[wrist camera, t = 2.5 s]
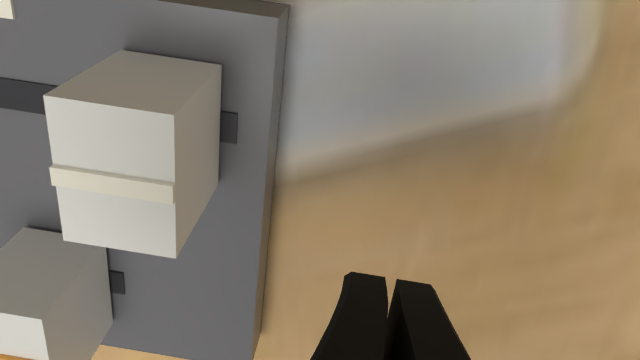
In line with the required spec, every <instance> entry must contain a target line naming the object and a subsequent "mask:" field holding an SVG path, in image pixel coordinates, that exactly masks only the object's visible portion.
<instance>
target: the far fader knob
mask: <svg viewBox="0 0 640 360" xmlns="http://www.w3.org/2000/svg"><path fill="white" fill-rule="evenodd" d="M112 325H113V317H112V307H111V296H110V285H109V275H108V264H107V253H106V247H101V246H94V245H88V244H82V243H76V242H70V241H64V240H63V234H62V233H56V232H50V231H44V230H38V229H31V228H25V227H23V228H22V229H21V230H20V231H19V232H18V233H17V234H15V235H14V236H13V237H12V238H11V239H10V240H9V241H8V242H7V243H6V244H5V245H4V246H2V247H1V248H0V360H91V358H92V356H93V355H94V353H95V352H96V350H97V348H98V347H99V345H100V344H101V342H102V341H103V339H104V337H105V336H106V334H107V333H108V331H109V329H110V328H111V326H112Z"/></svg>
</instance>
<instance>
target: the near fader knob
mask: <svg viewBox="0 0 640 360" xmlns="http://www.w3.org/2000/svg"><path fill="white" fill-rule="evenodd" d="M221 74H222V65H219V64H212V63H206V62H199V61H192V60H186V59H179V58H172V57H165V56H159V55H152V54H145V53H139V52H132V51H125V50H119V51H117V52H116V53H114V54H112V55H111V56H109V57H107V58H106V59H104V60H102V61H101V62H99V63H97V64H95V65H94V66H92V67H90V68H89V69H87V70H85V71H84V72H82V73H80V74H78V75H77V76H75V77H73V78H72V79H70V80H68V81H67V82H65V83H63V84H61V85H60V86H58V87H56V88H55V89H53V90H51V91H50V92H48V93H46V94H44V95H43V98H44V105H45V113H46V120H47V127H48V134H49V141H50V148H51V155H52V162H53V164H52V165H51V166H50V167H49V170H50V177H51V184H52V186H56V191H57V198H58V205H59V212H60V219H61V226H62V234H63V240H64V241H70V242H76V243H82V244H88V245H94V246H101V247H107V248H113V249H119V250H125V251H131V252H138V253H144V254H150V255H156V256H162V257H168V258H175V259H176V258H177V256H178V255H179V253H180V251H181V249H182V248H183V246H184V244H185V242H186V240H187V239H188V237H189V235H190V233H191V232H192V230H193V228H194V226H195V225H196V223H197V221H198V219H199V218H200V216H201V214H202V212H203V211H204V209H205V207H206V205H207V203H208V202H209V200H210V198H211V196H212V195H213V193H214V191H215V189H216V188H217V186H218V173H219V140H220V107H221Z"/></svg>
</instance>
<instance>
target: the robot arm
mask: <svg viewBox="0 0 640 360" xmlns="http://www.w3.org/2000/svg"><path fill="white" fill-rule="evenodd" d="M387 315H388V318H387ZM310 360H471V358H470V357H469V355H468V353H467V351H466V350H465V348H464V346H463V344H462V342H461V340H460V339H459V337H458V335H457V333H456V331H455V329H454V327H453V326H452V324H451V322H450V320H449V318H448V316H447V314H446V312H445V310H444V308H443V306H442V304H441V302H440V300H439V298H438V296H437V294H436V291H435V290H434V288H433V287H432V286H431V285H430V284H424V283H418V282H412V281H406V280H399V279H397V280H396V285H395V289H394V293H393V297H392V301H391V305H390V309H389V313H388V296H387V287H386V281H385V277H381V276H375V275H368V274H362V273H356V272H350V273H349V274H347V275H345V276H344V281H343V287H342V292H341V295H340V298H339V301H338V304H337V306H336V309H335V311H334V313H333V316H332V318H331V320H330V323H329V325H328V327H327V329H326V331H325V333H324V335H323V337H322V338H321V340H320V342H319V344H318V346H317V348H316V350H315V352H314V354H313V356H312V357H311V359H310Z"/></svg>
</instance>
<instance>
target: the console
mask: <svg viewBox="0 0 640 360" xmlns="http://www.w3.org/2000/svg"><path fill="white" fill-rule="evenodd" d="M288 16H289V5H285V4H278V3H272V2H265V1H258V0H0V248H1V247H2V246H4V245H5V244H6V243H7V242H8V241H9V240H10V239H11V238H12V237H13V236H14V235H15V234H17V233H18V232H19V231H20V230H21V229H22V228H23V227H25V228H31V229H38V230H44V231H50V232H56V233H62V226H61V219H60V212H59V205H58V198H57V191H56V186H52V184H51V177H50V170H49V167H50V166H51V165H52V164H53V162H52V155H51V148H50V141H49V134H48V127H47V120H46V113H45V105H44V98H43V95H44V94H46V93H48V92H50V91H51V90H53V89H55V88H56V87H58V86H60V85H61V84H63V83H65V82H67V81H68V80H70V79H72V78H73V77H75V76H77V75H78V74H80V73H82V72H84V71H85V70H87V69H89V68H90V67H92V66H94V65H95V64H97V63H99V62H101V61H102V60H104V59H106V58H107V57H109V56H111V55H112V54H114V53H116V52H117V51H119V50H125V51H132V52H139V53H145V54H152V55H159V56H165V57H172V58H179V59H186V60H192V61H199V62H206V63H212V64H219V65H222V74H221V107H220V140H219V173H218V186H217V188H216V189H215V191H214V193H213V195H212V196H211V198H210V200H209V202H208V203H207V205H206V207H205V209H204V211H203V212H202V214H201V216H200V218H199V219H198V221H197V223H196V225H195V226H194V228H193V230H192V232H191V233H190V235H189V237H188V239H187V240H186V242H185V244H184V246H183V248H182V249H181V251H180V253H179V255H178V256H177V258H176V259H175V258H168V257H162V256H156V255H150V254H144V253H138V252H131V251H125V250H119V249H113V248H107V247H106V253H107V264H108V275H109V285H110V296H111V307H112V317H113V325H112V326H111V328H110V329H109V331H108V333H107V334H106V336H105V337H104V339H103V341H102V342H101V345H107V346H113V347H119V348H125V349H131V350H137V351H143V352H149V353H155V354H161V355H166V356H172V357H178V358H184V359H190V360H253V358H254V355H255V351H256V347H257V344H258V340H259V337H260V331H261V320H262V309H263V298H264V286H265V275H266V264H267V253H268V241H269V230H270V219H271V207H272V196H273V185H274V174H275V162H276V151H277V140H278V129H279V117H280V106H281V95H282V83H283V72H284V61H285V50H286V38H287V27H288Z"/></svg>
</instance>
